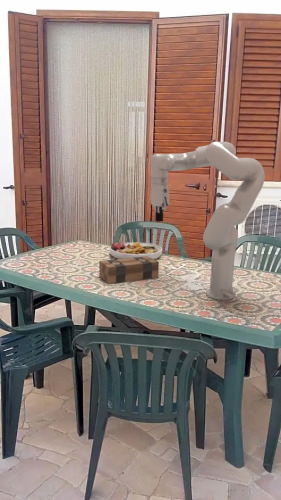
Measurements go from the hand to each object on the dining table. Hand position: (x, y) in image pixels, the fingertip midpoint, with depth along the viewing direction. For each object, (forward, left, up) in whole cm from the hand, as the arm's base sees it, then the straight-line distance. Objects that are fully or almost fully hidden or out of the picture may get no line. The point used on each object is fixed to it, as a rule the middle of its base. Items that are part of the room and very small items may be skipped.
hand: (159, 221), depth 211 cm
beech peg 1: (+8, +19, -28) cm, 35 cm away
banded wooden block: (+8, +12, -28) cm, 32 cm away
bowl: (+44, -9, -29) cm, 53 cm away
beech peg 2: (+8, +5, -28) cm, 30 cm away
